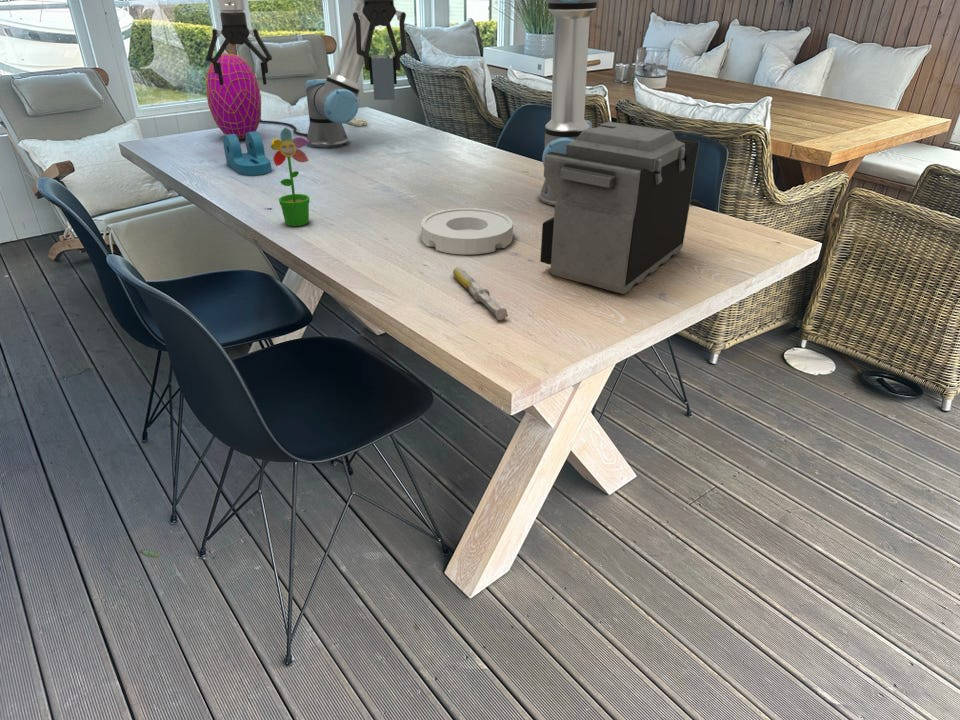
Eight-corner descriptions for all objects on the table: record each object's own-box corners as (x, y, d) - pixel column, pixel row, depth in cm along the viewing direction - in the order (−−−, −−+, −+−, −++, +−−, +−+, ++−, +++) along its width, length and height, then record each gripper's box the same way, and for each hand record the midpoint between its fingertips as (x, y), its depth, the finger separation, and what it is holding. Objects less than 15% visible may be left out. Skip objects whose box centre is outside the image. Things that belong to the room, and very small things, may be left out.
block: (374, 95, 188) (371, 55, 183) (394, 95, 189) (392, 54, 183) (374, 100, 182) (371, 58, 177) (395, 99, 183) (392, 58, 178)
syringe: (449, 274, 155) (449, 263, 153) (465, 272, 156) (464, 260, 154) (490, 323, 135) (491, 310, 133) (508, 319, 136) (508, 307, 134)
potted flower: (284, 229, 179) (270, 130, 166) (277, 220, 185) (263, 124, 172) (319, 224, 183) (308, 127, 170) (311, 215, 188) (300, 121, 176)
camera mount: (227, 164, 233) (221, 132, 227) (257, 160, 238) (252, 129, 233) (244, 176, 220) (239, 143, 215) (276, 172, 225) (271, 139, 220)
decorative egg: (252, 130, 278) (239, 49, 262) (275, 139, 265) (264, 54, 250) (206, 137, 266) (190, 53, 251) (228, 146, 254) (213, 59, 239)
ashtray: (426, 221, 185) (425, 207, 183) (512, 223, 185) (512, 208, 183) (416, 253, 165) (416, 237, 163) (512, 255, 165) (513, 239, 163)
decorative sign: (319, 115, 301) (339, 112, 307) (320, 117, 301) (339, 114, 307) (352, 125, 284) (372, 122, 290) (352, 127, 284) (372, 124, 290)
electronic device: (606, 230, 180) (619, 111, 165) (687, 249, 169) (709, 123, 154) (532, 275, 155) (539, 139, 140) (621, 301, 144) (640, 156, 128)
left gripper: (187, 12, 209) (201, 86, 219) (272, 12, 212) (281, 85, 223) (192, 10, 215) (205, 82, 226) (274, 10, 218) (283, 81, 229)
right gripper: (339, -15, 167) (348, 86, 179) (415, -15, 170) (419, 85, 181) (340, -16, 174) (348, 81, 185) (414, -16, 176) (417, 80, 188)
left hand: (243, 84), depth 224 cm, fingers open, 13 cm apart
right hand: (383, 83), depth 183 cm, fingers closed on block, 5 cm apart
